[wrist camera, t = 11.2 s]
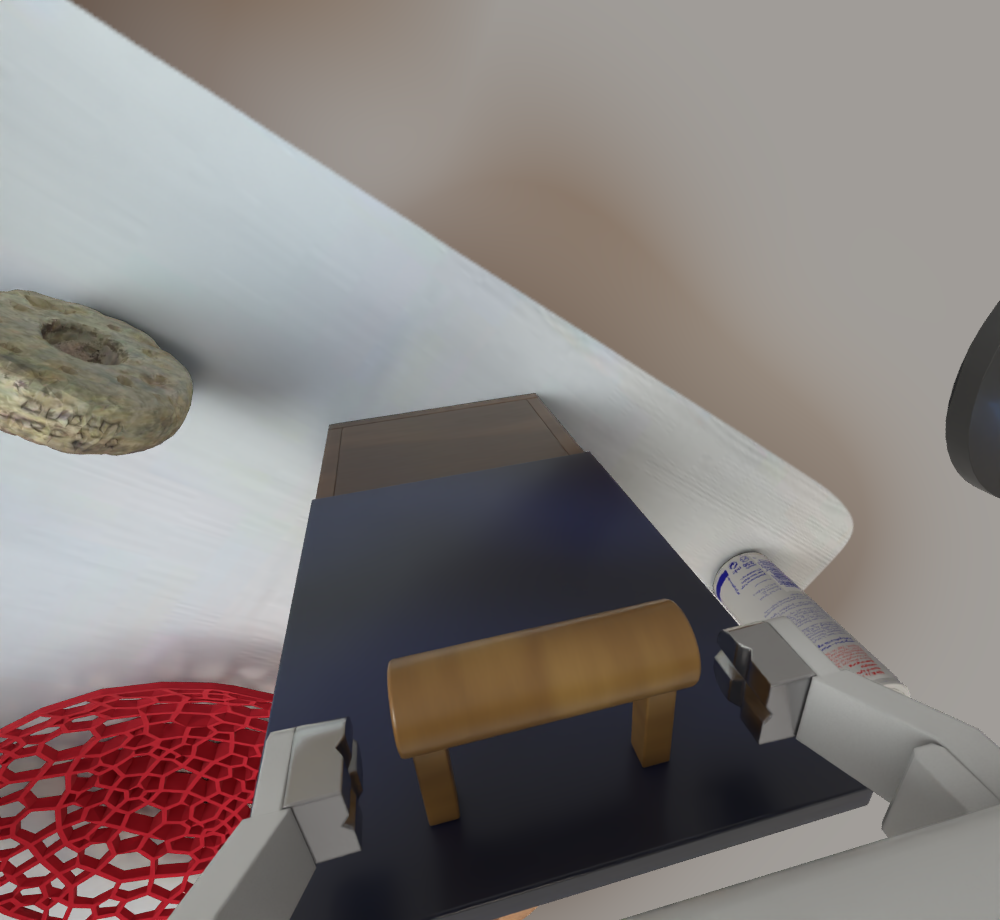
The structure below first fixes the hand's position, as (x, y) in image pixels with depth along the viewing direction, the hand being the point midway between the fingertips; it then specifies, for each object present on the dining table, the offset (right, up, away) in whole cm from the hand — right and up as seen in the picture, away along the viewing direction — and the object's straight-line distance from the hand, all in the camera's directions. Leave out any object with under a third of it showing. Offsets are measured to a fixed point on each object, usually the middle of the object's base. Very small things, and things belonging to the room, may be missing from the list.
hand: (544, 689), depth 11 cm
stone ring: (-22, +11, +18) cm, 31 cm away
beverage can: (+21, -5, +37) cm, 43 cm away
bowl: (-26, -21, +33) cm, 47 cm away
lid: (-1, 0, +7) cm, 7 cm away
